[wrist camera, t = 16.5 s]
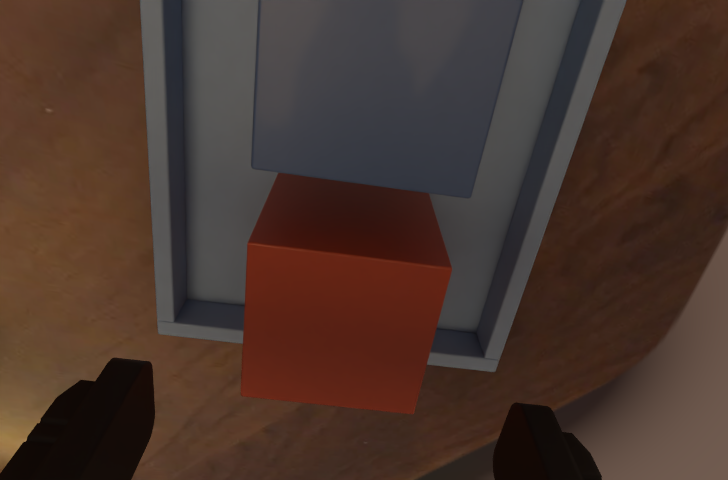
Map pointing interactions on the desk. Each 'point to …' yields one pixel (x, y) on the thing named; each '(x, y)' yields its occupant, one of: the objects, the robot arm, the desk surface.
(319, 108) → the blue cube
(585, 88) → the gray tray
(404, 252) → the rust cube
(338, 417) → the desk surface
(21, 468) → the robot arm
